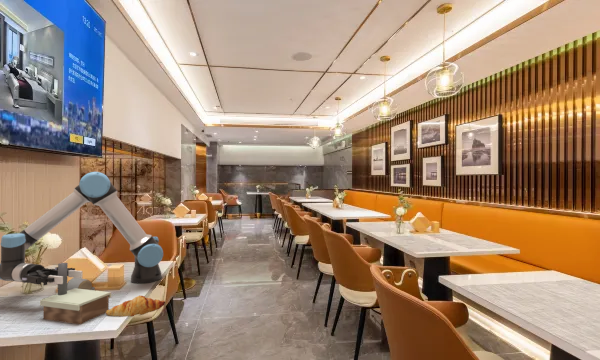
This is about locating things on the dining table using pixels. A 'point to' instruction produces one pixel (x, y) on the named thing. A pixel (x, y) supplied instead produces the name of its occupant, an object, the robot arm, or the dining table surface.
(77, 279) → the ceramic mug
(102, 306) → the brown wooden box
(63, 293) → the lid
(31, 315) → the dining table surface
